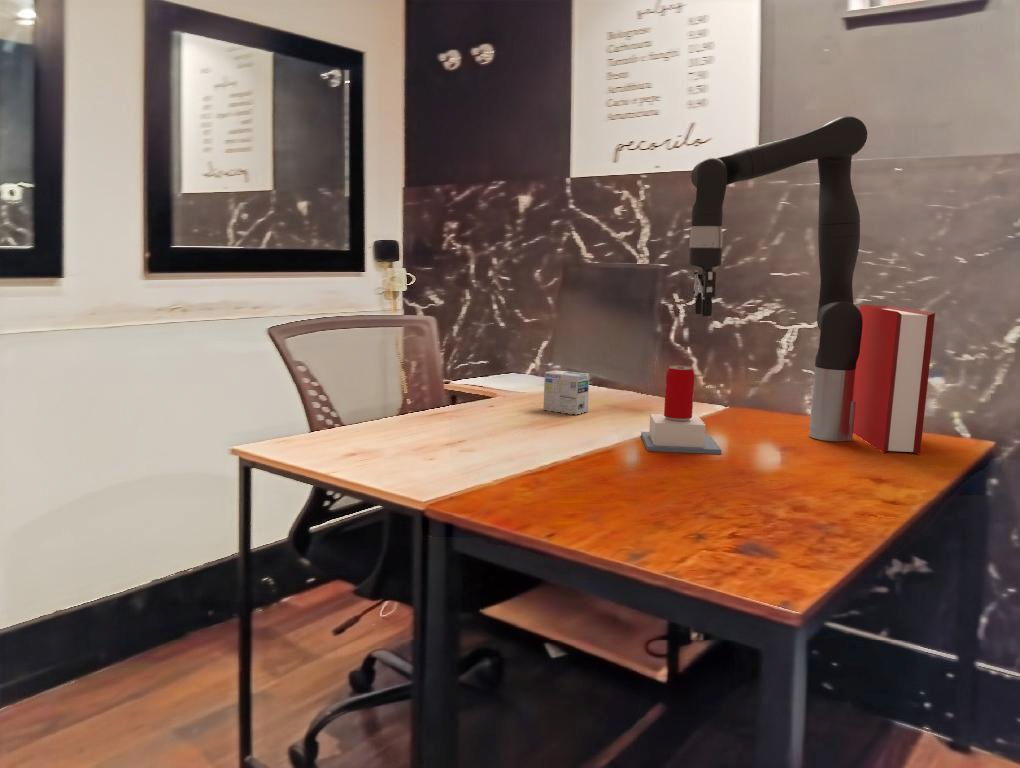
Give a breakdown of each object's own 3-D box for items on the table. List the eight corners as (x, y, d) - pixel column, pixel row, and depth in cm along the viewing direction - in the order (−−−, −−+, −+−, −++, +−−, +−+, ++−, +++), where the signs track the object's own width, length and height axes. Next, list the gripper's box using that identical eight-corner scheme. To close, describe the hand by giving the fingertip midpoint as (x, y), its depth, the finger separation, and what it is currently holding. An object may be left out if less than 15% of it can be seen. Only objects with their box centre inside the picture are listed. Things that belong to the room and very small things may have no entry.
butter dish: (708, 438, 199) (710, 413, 198) (721, 454, 183) (723, 427, 183) (641, 435, 200) (642, 410, 199) (647, 450, 184) (649, 424, 184)
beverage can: (690, 417, 193) (693, 365, 191) (693, 422, 186) (696, 369, 185) (662, 416, 193) (665, 364, 191) (664, 421, 187) (667, 368, 185)
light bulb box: (588, 412, 229) (590, 373, 227) (577, 415, 223) (578, 375, 222) (554, 407, 235) (555, 369, 233) (542, 410, 229) (543, 371, 227)
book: (920, 455, 189) (935, 312, 184) (883, 453, 190) (897, 311, 185) (878, 430, 216) (890, 305, 211) (846, 429, 216) (858, 304, 212)
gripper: (728, 246, 191) (725, 317, 193) (715, 246, 205) (712, 313, 207) (695, 245, 191) (692, 317, 194) (684, 246, 205) (682, 313, 208)
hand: (702, 315), depth 200 cm, fingers open, 8 cm apart
